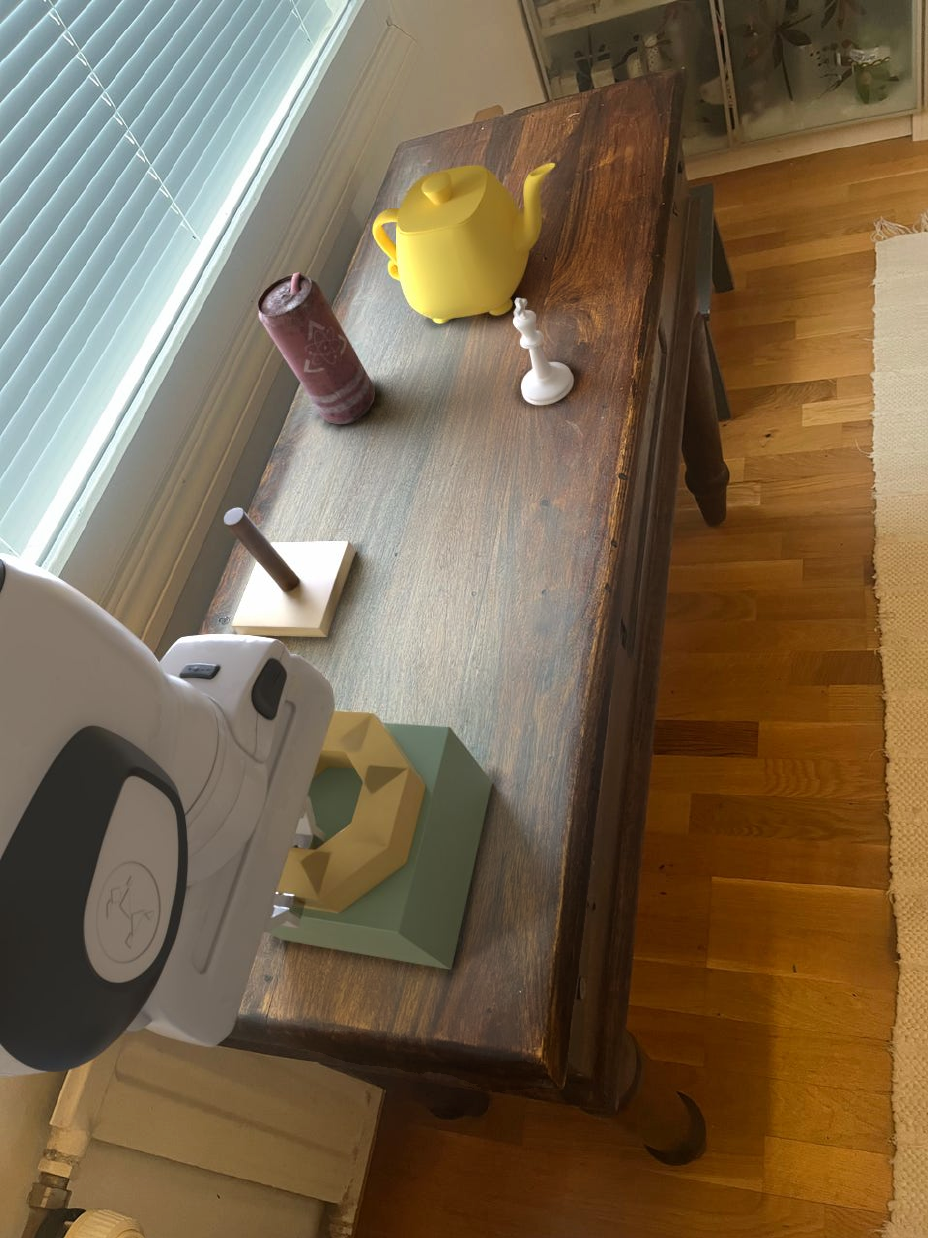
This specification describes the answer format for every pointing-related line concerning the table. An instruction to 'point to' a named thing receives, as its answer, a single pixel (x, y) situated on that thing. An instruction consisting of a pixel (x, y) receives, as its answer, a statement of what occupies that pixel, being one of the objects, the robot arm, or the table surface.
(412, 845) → the plinth
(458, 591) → the table surface
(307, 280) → the can
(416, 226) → the teapot
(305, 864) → the brass ring
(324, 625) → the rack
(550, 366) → the chess piece
